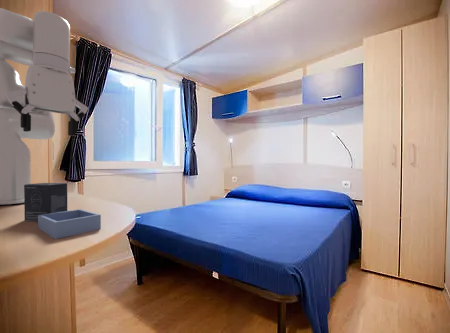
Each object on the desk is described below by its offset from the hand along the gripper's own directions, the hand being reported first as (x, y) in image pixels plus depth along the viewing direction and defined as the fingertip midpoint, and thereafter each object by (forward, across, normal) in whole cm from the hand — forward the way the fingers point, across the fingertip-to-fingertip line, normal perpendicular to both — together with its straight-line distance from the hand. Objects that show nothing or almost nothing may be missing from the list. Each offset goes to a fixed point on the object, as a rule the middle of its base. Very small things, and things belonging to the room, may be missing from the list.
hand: (50, 133), depth 60 cm
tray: (+23, -1, +10) cm, 25 cm away
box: (+24, 0, -2) cm, 24 cm away
